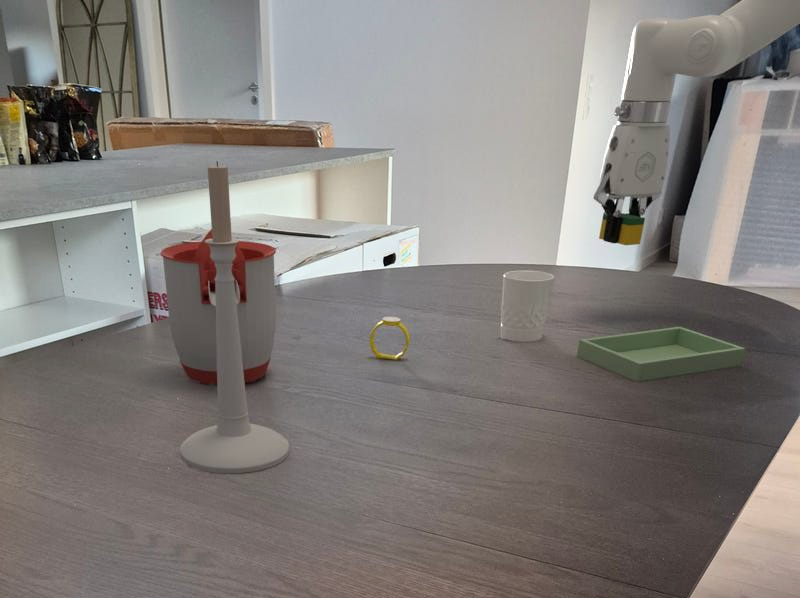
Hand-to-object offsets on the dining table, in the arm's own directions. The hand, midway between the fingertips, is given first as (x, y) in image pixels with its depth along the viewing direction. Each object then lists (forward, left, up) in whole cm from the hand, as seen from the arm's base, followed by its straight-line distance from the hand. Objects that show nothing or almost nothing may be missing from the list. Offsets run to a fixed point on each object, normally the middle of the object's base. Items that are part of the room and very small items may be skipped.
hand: (619, 240), depth 144 cm
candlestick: (+81, +34, -13) cm, 88 cm away
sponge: (0, 0, 0) cm, 0 cm away
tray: (+11, +26, -13) cm, 31 cm away
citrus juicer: (+73, +6, -13) cm, 74 cm away
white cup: (+22, +6, -13) cm, 26 cm away
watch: (+47, +7, -13) cm, 49 cm away
